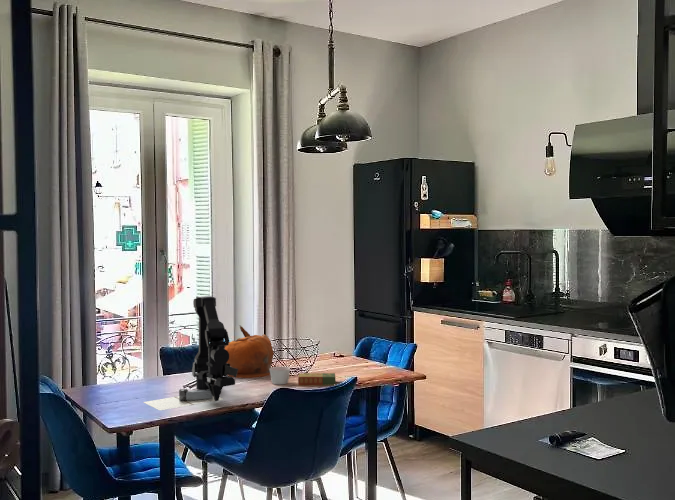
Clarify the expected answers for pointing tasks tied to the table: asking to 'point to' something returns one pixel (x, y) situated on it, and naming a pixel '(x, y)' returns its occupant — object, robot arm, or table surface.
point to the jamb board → (175, 403)
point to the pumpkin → (250, 355)
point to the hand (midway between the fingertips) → (216, 400)
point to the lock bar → (194, 394)
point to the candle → (279, 375)
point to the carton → (316, 379)
